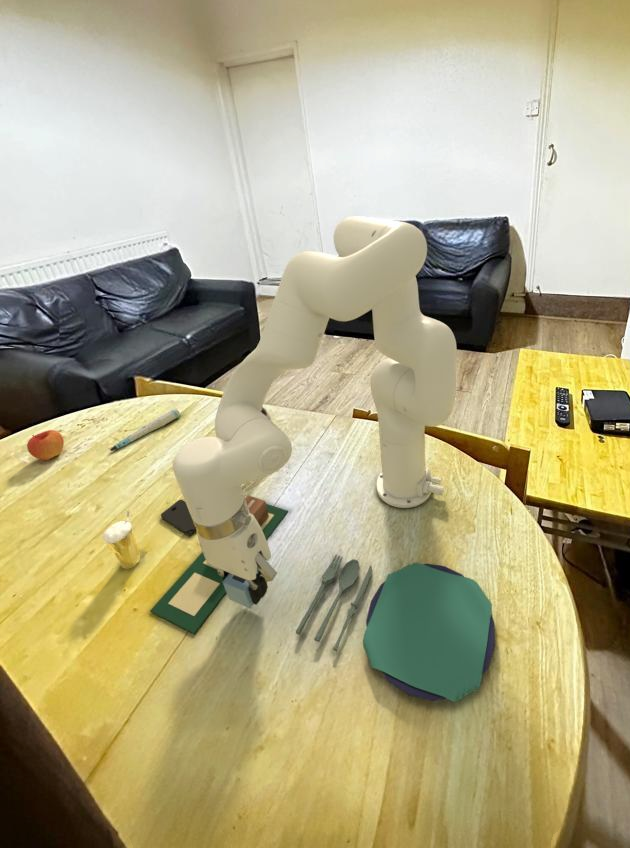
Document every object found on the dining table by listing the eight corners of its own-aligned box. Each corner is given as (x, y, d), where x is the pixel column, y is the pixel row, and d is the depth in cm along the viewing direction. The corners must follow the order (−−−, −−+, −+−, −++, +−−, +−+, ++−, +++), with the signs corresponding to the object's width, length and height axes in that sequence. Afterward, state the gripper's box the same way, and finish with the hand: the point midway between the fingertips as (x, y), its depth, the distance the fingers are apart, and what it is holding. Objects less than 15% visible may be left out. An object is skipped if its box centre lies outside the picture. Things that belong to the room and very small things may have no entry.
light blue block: (267, 583, 70) (262, 565, 68) (250, 609, 67) (244, 591, 65) (246, 575, 72) (240, 557, 70) (228, 599, 68) (222, 581, 66)
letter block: (269, 516, 86) (265, 500, 84) (255, 533, 83) (250, 517, 81) (251, 510, 88) (247, 494, 86) (237, 527, 84) (232, 511, 82)
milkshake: (153, 550, 81) (137, 513, 77) (130, 575, 76) (112, 537, 72) (135, 544, 82) (119, 508, 78) (112, 568, 78) (93, 531, 74)
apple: (73, 452, 110) (62, 428, 107) (41, 469, 105) (28, 444, 101) (61, 443, 114) (50, 420, 111) (30, 460, 108) (17, 435, 105)
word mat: (287, 511, 88) (287, 510, 88) (194, 634, 66) (193, 632, 66) (250, 499, 92) (250, 498, 91) (150, 612, 70) (149, 610, 70)
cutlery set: (483, 734, 53) (484, 725, 52) (286, 648, 64) (284, 639, 63) (502, 591, 70) (503, 582, 69) (343, 541, 80) (342, 533, 79)
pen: (176, 414, 124) (173, 406, 123) (182, 417, 122) (179, 409, 121) (108, 451, 110) (104, 442, 109) (113, 455, 108) (109, 446, 107)
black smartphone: (188, 533, 83) (159, 515, 88) (189, 536, 83) (160, 517, 88) (209, 515, 87) (180, 498, 92) (210, 518, 87) (181, 501, 92)
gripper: (282, 509, 61) (302, 586, 69) (197, 482, 68) (225, 556, 76) (250, 552, 55) (276, 632, 63) (160, 518, 62) (193, 594, 69)
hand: (248, 589), depth 69 cm, fingers closed on light blue block, 4 cm apart
